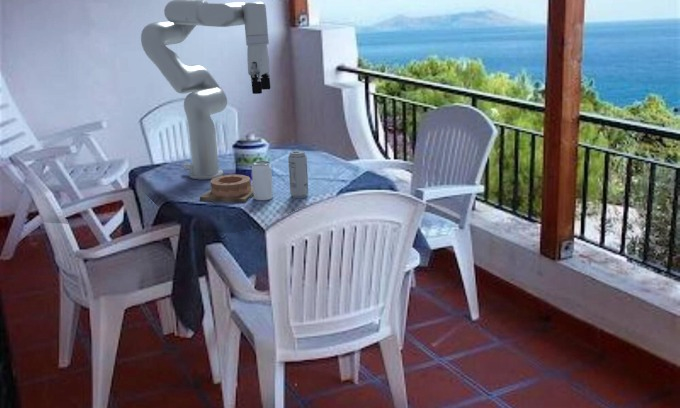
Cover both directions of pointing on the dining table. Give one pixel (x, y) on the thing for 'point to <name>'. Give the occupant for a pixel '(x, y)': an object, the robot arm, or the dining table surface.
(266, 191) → the can
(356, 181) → the dining table surface
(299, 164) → the energy drink can
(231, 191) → the socket block
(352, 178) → the dining table surface
